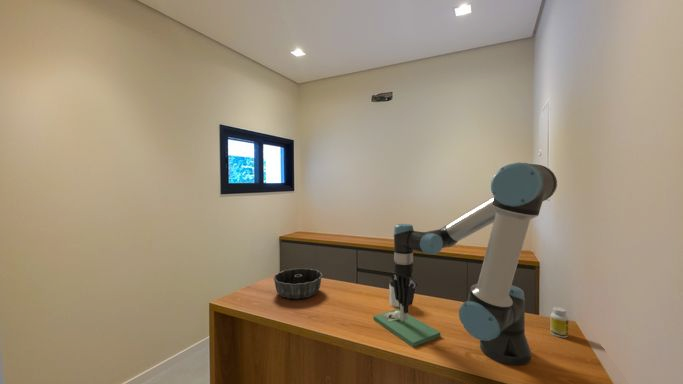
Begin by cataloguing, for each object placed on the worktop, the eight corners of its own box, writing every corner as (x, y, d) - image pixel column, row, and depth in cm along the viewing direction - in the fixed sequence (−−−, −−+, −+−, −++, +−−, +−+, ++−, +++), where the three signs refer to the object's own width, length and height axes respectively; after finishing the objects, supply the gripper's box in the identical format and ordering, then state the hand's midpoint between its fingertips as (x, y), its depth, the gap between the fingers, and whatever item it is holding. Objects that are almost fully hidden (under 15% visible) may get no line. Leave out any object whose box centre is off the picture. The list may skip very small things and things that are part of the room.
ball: (403, 320, 116) (404, 312, 116) (396, 322, 114) (397, 314, 114) (397, 316, 119) (398, 308, 119) (391, 318, 117) (391, 310, 117)
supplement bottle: (569, 339, 103) (569, 313, 102) (551, 335, 106) (551, 310, 105) (567, 333, 107) (567, 307, 107) (549, 329, 110) (549, 305, 110)
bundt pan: (320, 303, 139) (320, 283, 138) (267, 303, 139) (267, 283, 139) (324, 284, 165) (324, 268, 165) (280, 285, 165) (280, 268, 165)
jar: (397, 309, 130) (397, 283, 130) (385, 303, 137) (385, 279, 137) (411, 304, 135) (410, 280, 135) (399, 299, 142) (398, 275, 142)
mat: (440, 336, 106) (440, 332, 106) (413, 347, 99) (413, 342, 99) (398, 312, 127) (398, 308, 127) (373, 319, 120) (373, 316, 120)
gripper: (422, 264, 109) (422, 324, 110) (399, 257, 120) (400, 311, 121) (407, 267, 105) (408, 329, 106) (386, 259, 117) (386, 315, 117)
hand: (403, 319), depth 113 cm, fingers closed
